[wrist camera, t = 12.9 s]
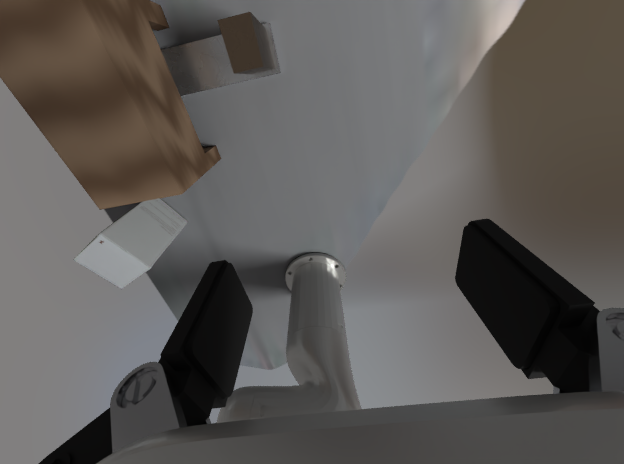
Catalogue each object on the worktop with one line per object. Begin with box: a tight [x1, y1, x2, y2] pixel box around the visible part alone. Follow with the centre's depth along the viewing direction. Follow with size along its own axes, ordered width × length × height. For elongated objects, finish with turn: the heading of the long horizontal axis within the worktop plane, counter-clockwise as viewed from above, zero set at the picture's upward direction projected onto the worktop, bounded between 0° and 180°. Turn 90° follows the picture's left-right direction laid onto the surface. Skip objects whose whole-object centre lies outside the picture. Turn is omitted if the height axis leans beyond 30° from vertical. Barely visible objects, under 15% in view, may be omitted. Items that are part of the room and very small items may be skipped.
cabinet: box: [0, 0, 221, 210], centre depth 27 cm, size 19×10×14 cm, turn 11°
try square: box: [161, 12, 281, 96], centre depth 27 cm, size 5×24×10 cm, turn 101°
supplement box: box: [74, 198, 187, 289], centre depth 38 cm, size 7×7×13 cm
